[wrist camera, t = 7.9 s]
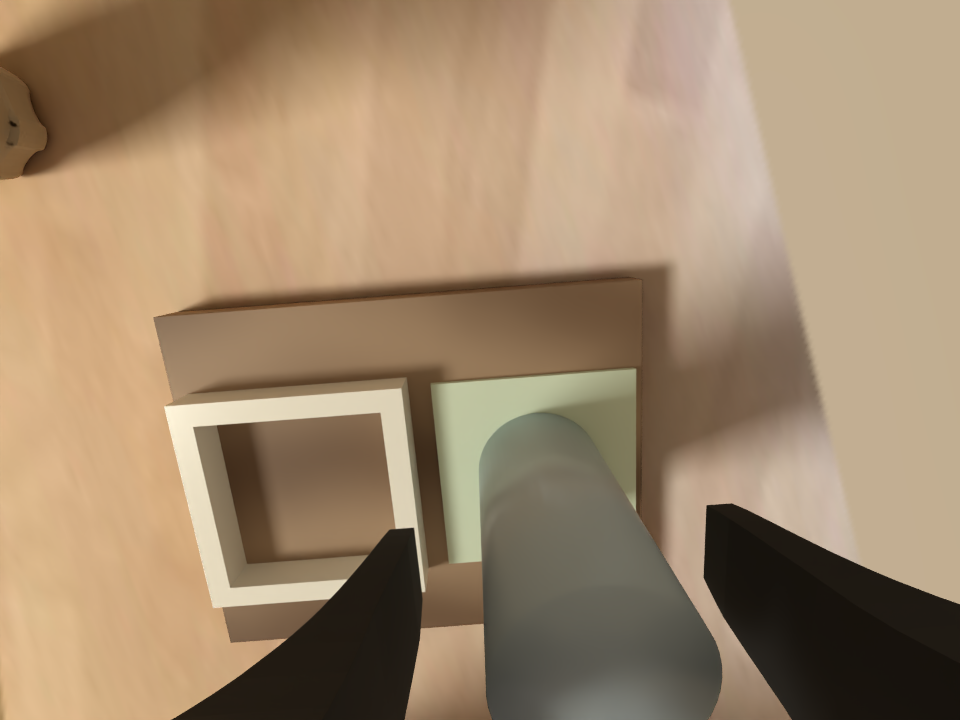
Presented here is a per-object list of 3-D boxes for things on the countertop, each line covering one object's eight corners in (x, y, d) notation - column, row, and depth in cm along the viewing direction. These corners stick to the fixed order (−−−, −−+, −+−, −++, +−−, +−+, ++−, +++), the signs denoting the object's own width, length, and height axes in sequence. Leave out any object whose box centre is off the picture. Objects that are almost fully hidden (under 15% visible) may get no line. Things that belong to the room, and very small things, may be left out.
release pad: (633, 546, 17) (635, 549, 17) (449, 560, 17) (449, 563, 17) (634, 367, 15) (636, 368, 15) (431, 382, 15) (430, 384, 15)
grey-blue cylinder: (600, 518, 16) (716, 768, 9) (483, 528, 16) (493, 785, 9) (598, 407, 15) (728, 575, 8) (473, 417, 15) (476, 594, 8)
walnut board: (630, 588, 19) (640, 611, 18) (246, 617, 19) (230, 642, 18) (629, 277, 16) (642, 280, 15) (176, 312, 16) (153, 317, 15)
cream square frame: (428, 567, 17) (425, 591, 16) (231, 582, 17) (213, 608, 16) (406, 377, 15) (401, 388, 14) (187, 394, 15) (164, 406, 14)
